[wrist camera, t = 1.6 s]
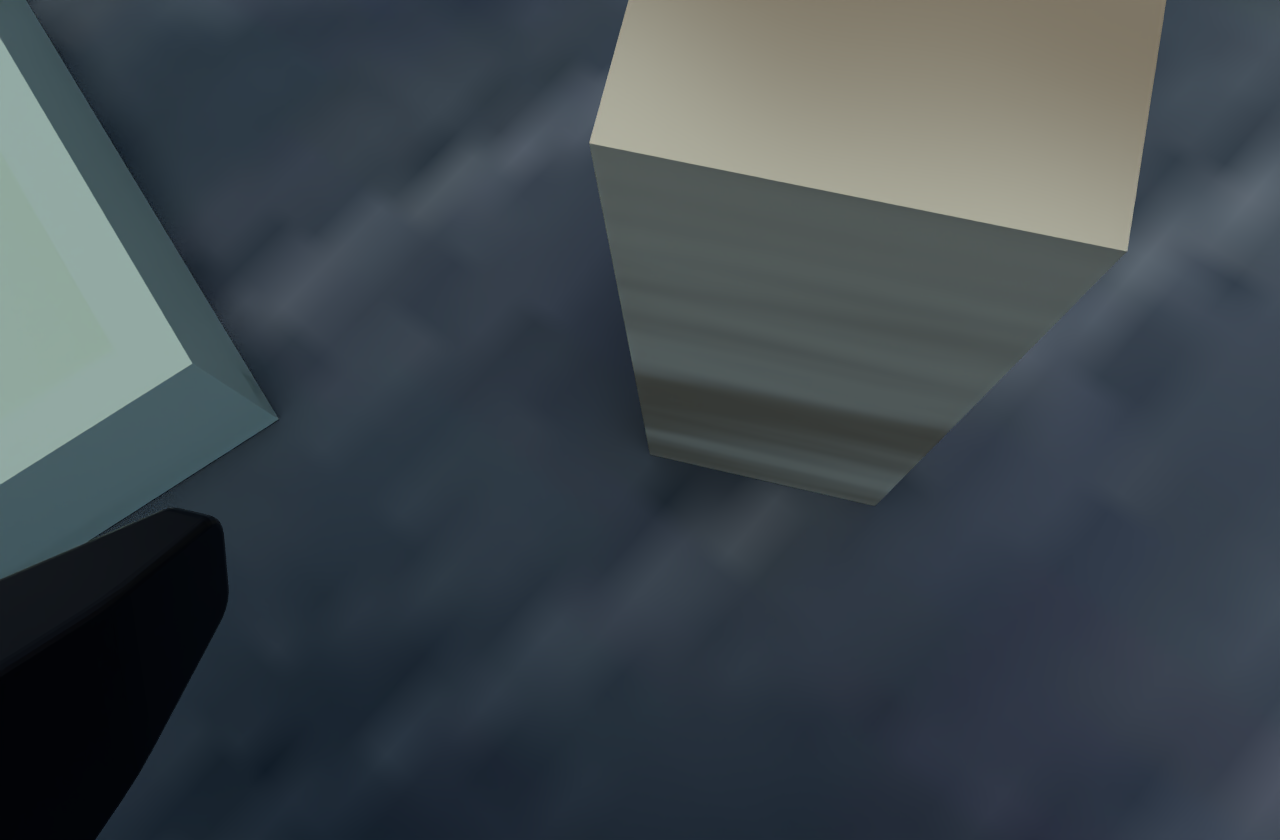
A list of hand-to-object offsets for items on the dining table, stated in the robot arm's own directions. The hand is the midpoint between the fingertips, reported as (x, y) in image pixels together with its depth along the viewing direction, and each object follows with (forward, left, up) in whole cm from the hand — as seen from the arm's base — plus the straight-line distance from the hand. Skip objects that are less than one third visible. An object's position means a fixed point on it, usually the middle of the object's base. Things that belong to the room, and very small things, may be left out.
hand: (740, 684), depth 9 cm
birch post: (+5, +4, -12) cm, 14 cm away
